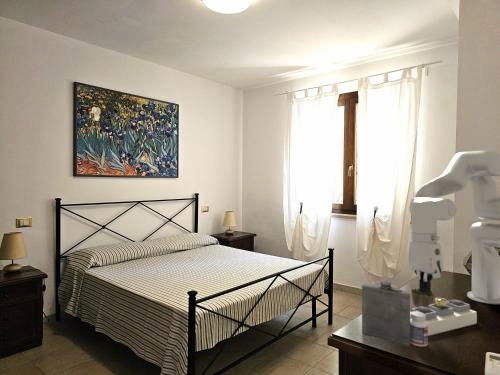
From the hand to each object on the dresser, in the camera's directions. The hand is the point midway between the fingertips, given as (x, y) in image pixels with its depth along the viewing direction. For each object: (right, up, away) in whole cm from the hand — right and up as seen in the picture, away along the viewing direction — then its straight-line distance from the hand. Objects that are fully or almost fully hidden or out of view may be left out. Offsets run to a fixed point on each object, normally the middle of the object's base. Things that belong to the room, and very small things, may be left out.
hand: (425, 291), depth 111 cm
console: (+7, -12, +3) cm, 14 cm away
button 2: (+14, -8, +6) cm, 17 cm away
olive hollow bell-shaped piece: (+6, -12, +13) cm, 18 cm away
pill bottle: (-7, -13, -10) cm, 18 cm away
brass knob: (+7, -6, +3) cm, 10 cm away
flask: (-16, -13, -7) cm, 22 cm away
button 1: (-1, -8, 0) cm, 8 cm away
